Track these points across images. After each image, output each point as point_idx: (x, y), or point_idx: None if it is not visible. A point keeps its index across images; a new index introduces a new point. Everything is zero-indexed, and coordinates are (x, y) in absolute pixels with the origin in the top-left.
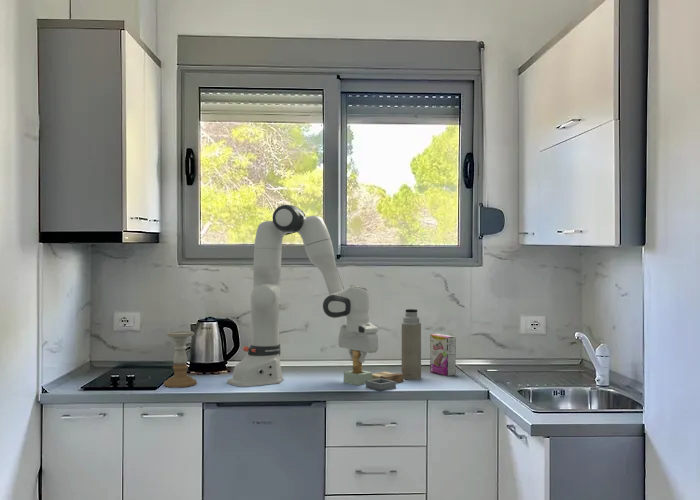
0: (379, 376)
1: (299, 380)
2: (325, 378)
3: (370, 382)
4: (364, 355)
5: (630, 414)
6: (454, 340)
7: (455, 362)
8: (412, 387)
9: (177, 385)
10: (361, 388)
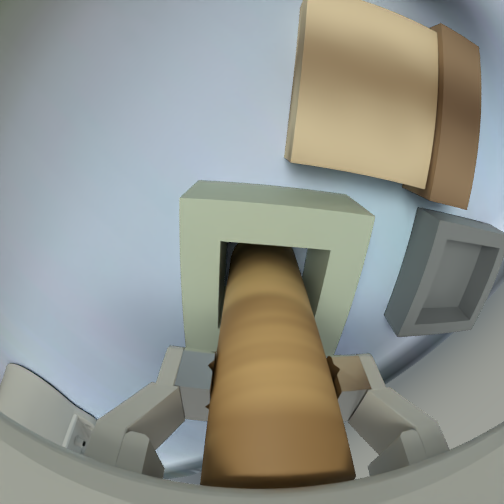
0: (412, 184)
1: (71, 372)
2: (67, 295)
3: (425, 333)
4: (407, 424)
5: None
6: None
7: None
8: None
9: None
10: (373, 336)
